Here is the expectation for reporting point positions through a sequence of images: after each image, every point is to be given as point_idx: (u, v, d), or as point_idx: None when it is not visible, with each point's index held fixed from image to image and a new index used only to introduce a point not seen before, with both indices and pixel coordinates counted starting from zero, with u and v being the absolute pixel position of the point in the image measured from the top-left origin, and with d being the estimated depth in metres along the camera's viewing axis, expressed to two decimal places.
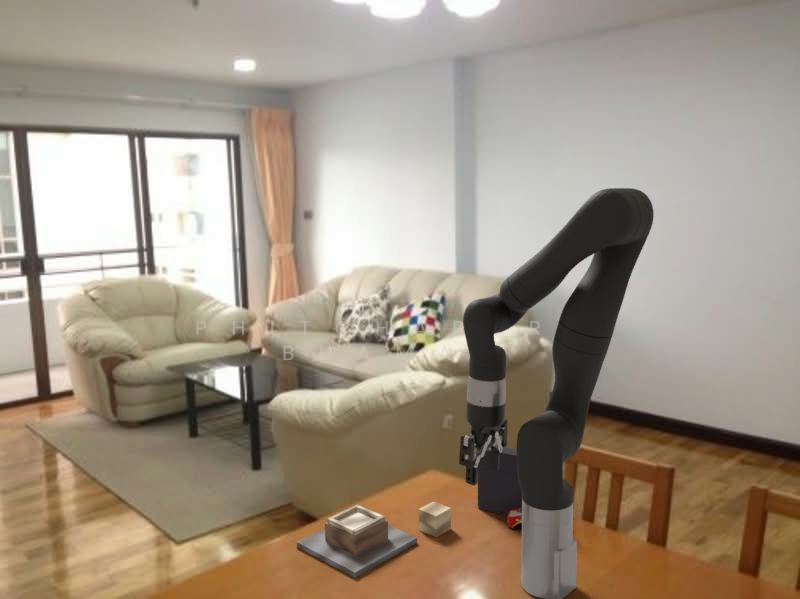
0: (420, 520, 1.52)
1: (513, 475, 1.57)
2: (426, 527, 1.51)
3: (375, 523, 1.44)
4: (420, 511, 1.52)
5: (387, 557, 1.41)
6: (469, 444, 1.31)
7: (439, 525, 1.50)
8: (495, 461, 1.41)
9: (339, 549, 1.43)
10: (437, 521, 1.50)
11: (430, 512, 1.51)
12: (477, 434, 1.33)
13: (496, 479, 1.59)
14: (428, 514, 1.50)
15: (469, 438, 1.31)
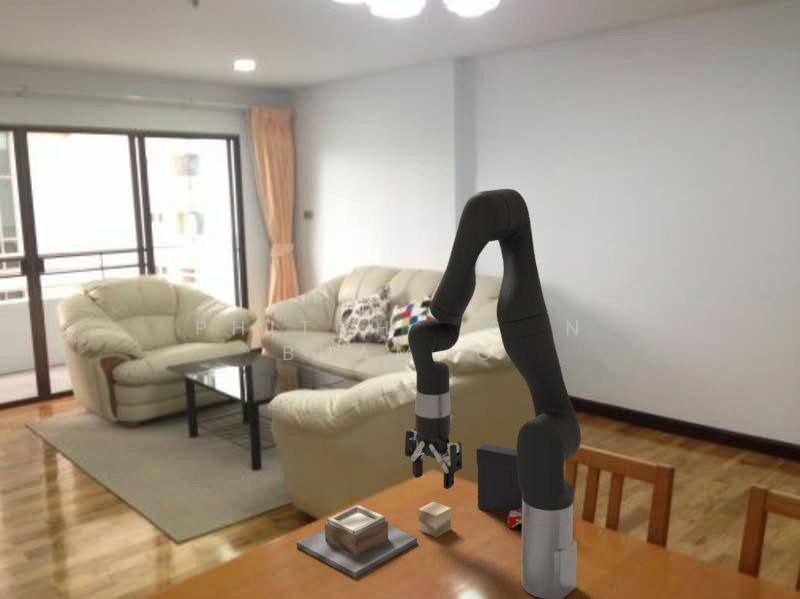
0: (420, 520, 1.52)
1: (513, 475, 1.57)
2: (426, 527, 1.51)
3: (375, 523, 1.44)
4: (420, 511, 1.52)
5: (387, 557, 1.41)
6: (460, 449, 1.46)
7: (439, 525, 1.50)
8: (420, 467, 1.54)
9: (339, 549, 1.43)
10: (437, 521, 1.50)
11: (430, 512, 1.51)
12: None
13: (496, 479, 1.59)
14: (428, 514, 1.50)
15: (458, 444, 1.46)
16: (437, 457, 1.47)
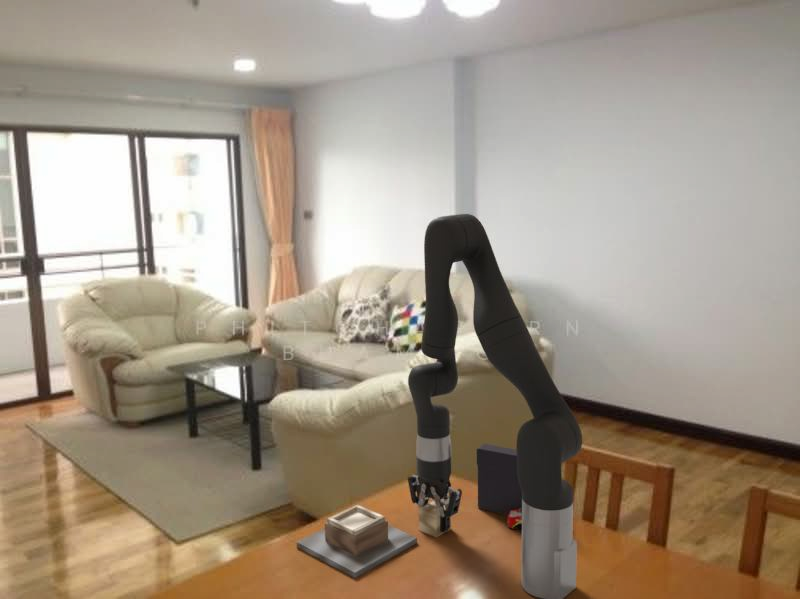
0: (420, 520, 1.52)
1: (513, 475, 1.57)
2: (426, 526, 1.51)
3: (375, 523, 1.44)
4: (420, 511, 1.52)
5: (387, 557, 1.41)
6: (460, 496, 1.48)
7: (439, 525, 1.50)
8: None
9: (339, 549, 1.43)
10: (437, 521, 1.50)
11: (430, 511, 1.51)
12: (450, 484, 1.49)
13: (496, 479, 1.59)
14: (428, 514, 1.50)
15: (459, 492, 1.47)
16: (436, 500, 1.49)
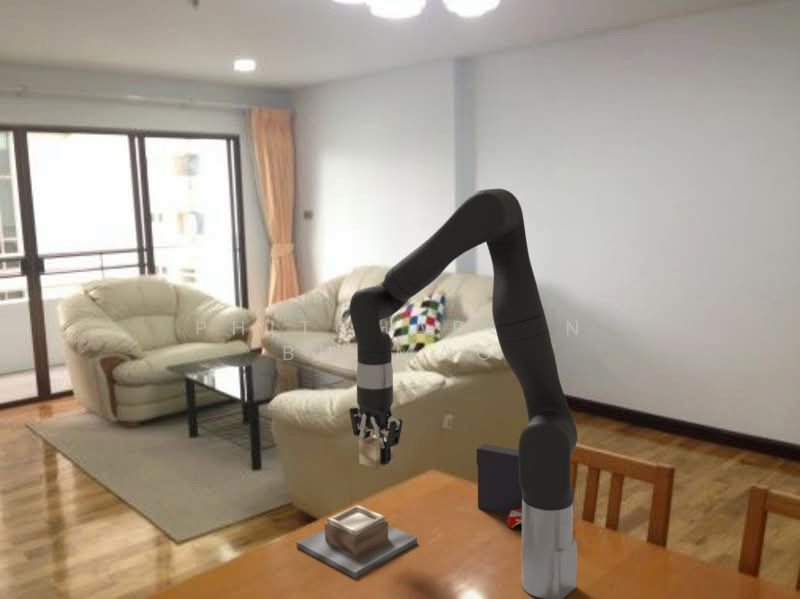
0: (360, 452, 1.46)
1: (512, 475, 1.57)
2: (366, 459, 1.45)
3: (375, 523, 1.44)
4: (360, 442, 1.46)
5: (387, 557, 1.41)
6: (400, 426, 1.41)
7: (379, 457, 1.44)
8: None
9: (339, 549, 1.43)
10: (377, 452, 1.43)
11: (370, 443, 1.44)
12: (391, 414, 1.43)
13: (496, 479, 1.59)
14: (368, 445, 1.44)
15: (399, 421, 1.41)
16: (376, 431, 1.43)
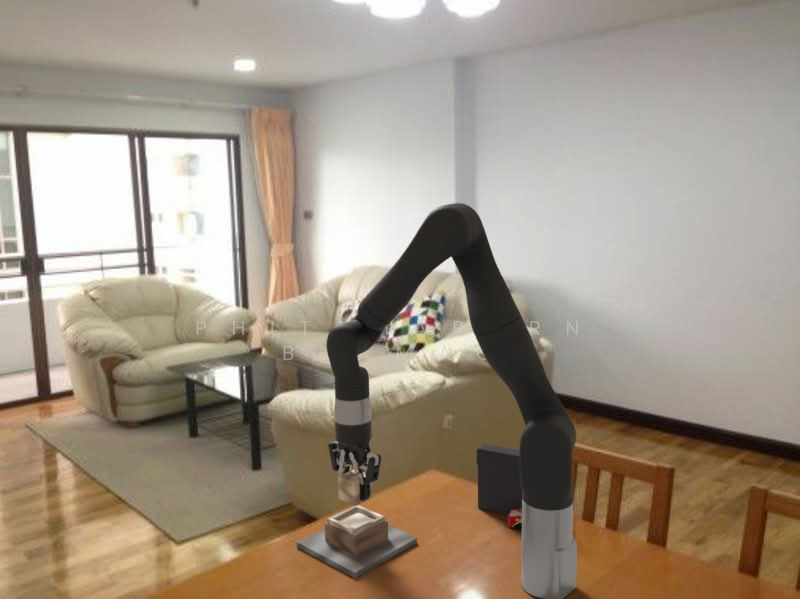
0: (340, 488, 1.45)
1: (513, 475, 1.57)
2: (346, 495, 1.44)
3: (375, 523, 1.44)
4: (339, 478, 1.44)
5: (387, 557, 1.41)
6: (379, 462, 1.40)
7: (358, 492, 1.42)
8: None
9: (339, 549, 1.43)
10: (356, 488, 1.42)
11: (349, 479, 1.43)
12: (370, 450, 1.41)
13: (496, 479, 1.59)
14: (347, 481, 1.43)
15: (378, 457, 1.40)
16: (355, 467, 1.42)
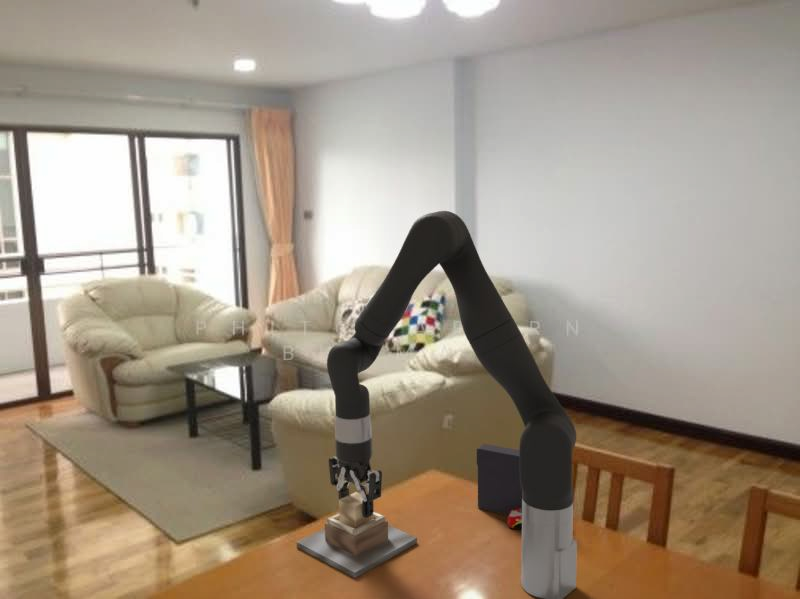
0: (340, 511, 1.45)
1: (512, 475, 1.57)
2: (346, 518, 1.44)
3: (375, 523, 1.44)
4: (340, 502, 1.45)
5: (387, 557, 1.41)
6: (380, 477, 1.41)
7: (359, 516, 1.43)
8: None
9: (339, 549, 1.43)
10: (357, 512, 1.43)
11: (350, 502, 1.44)
12: (370, 467, 1.42)
13: (496, 479, 1.59)
14: (348, 505, 1.44)
15: (378, 473, 1.40)
16: (356, 484, 1.42)
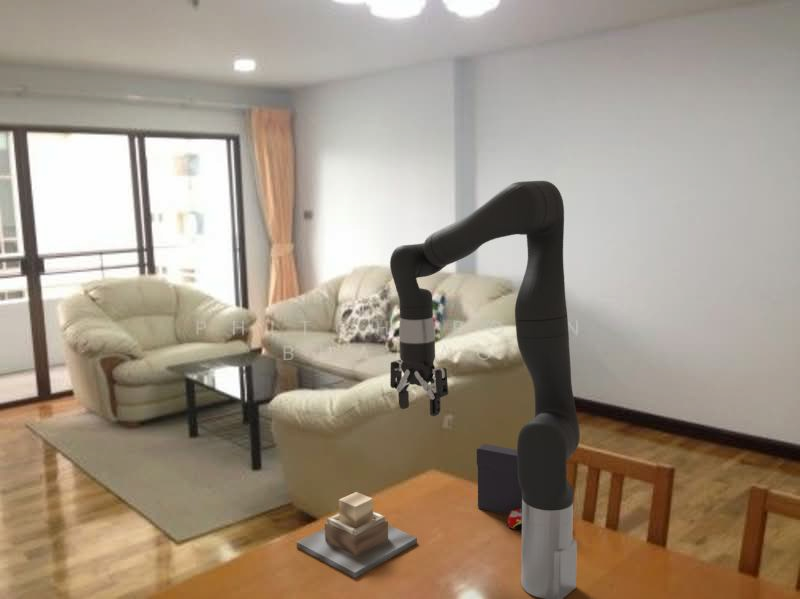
0: (340, 511, 1.45)
1: (513, 475, 1.57)
2: (346, 518, 1.44)
3: (375, 523, 1.44)
4: (340, 502, 1.45)
5: (387, 557, 1.41)
6: (445, 374, 1.45)
7: (359, 516, 1.43)
8: (406, 399, 1.53)
9: (339, 549, 1.43)
10: (357, 512, 1.43)
11: (350, 502, 1.44)
12: (434, 367, 1.47)
13: (496, 479, 1.59)
14: (348, 505, 1.44)
15: (443, 369, 1.45)
16: (423, 384, 1.46)
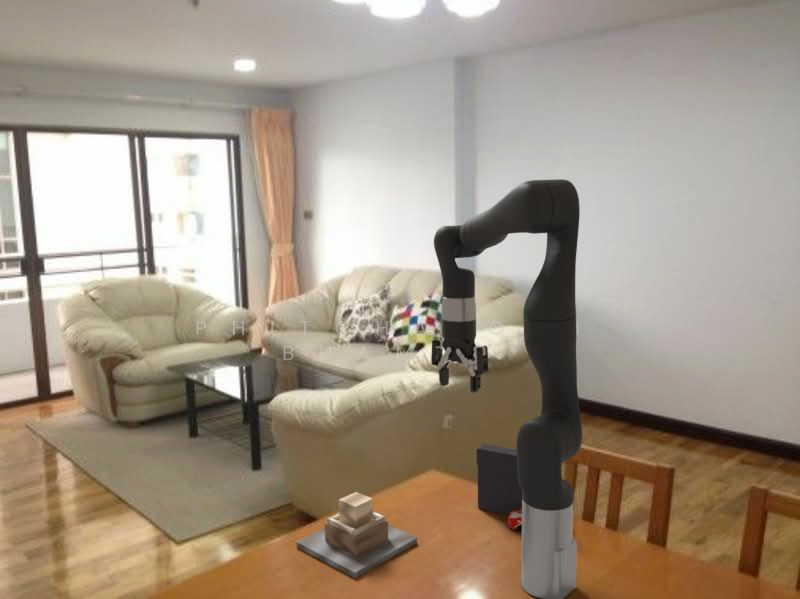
0: (340, 511, 1.45)
1: (512, 475, 1.57)
2: (346, 518, 1.44)
3: (375, 523, 1.44)
4: (340, 502, 1.45)
5: (387, 557, 1.41)
6: (486, 352, 1.49)
7: (359, 516, 1.43)
8: (447, 376, 1.58)
9: (339, 549, 1.43)
10: (357, 512, 1.43)
11: (350, 502, 1.44)
12: (475, 345, 1.51)
13: (496, 479, 1.59)
14: (348, 505, 1.44)
15: (484, 347, 1.49)
16: (464, 361, 1.51)
